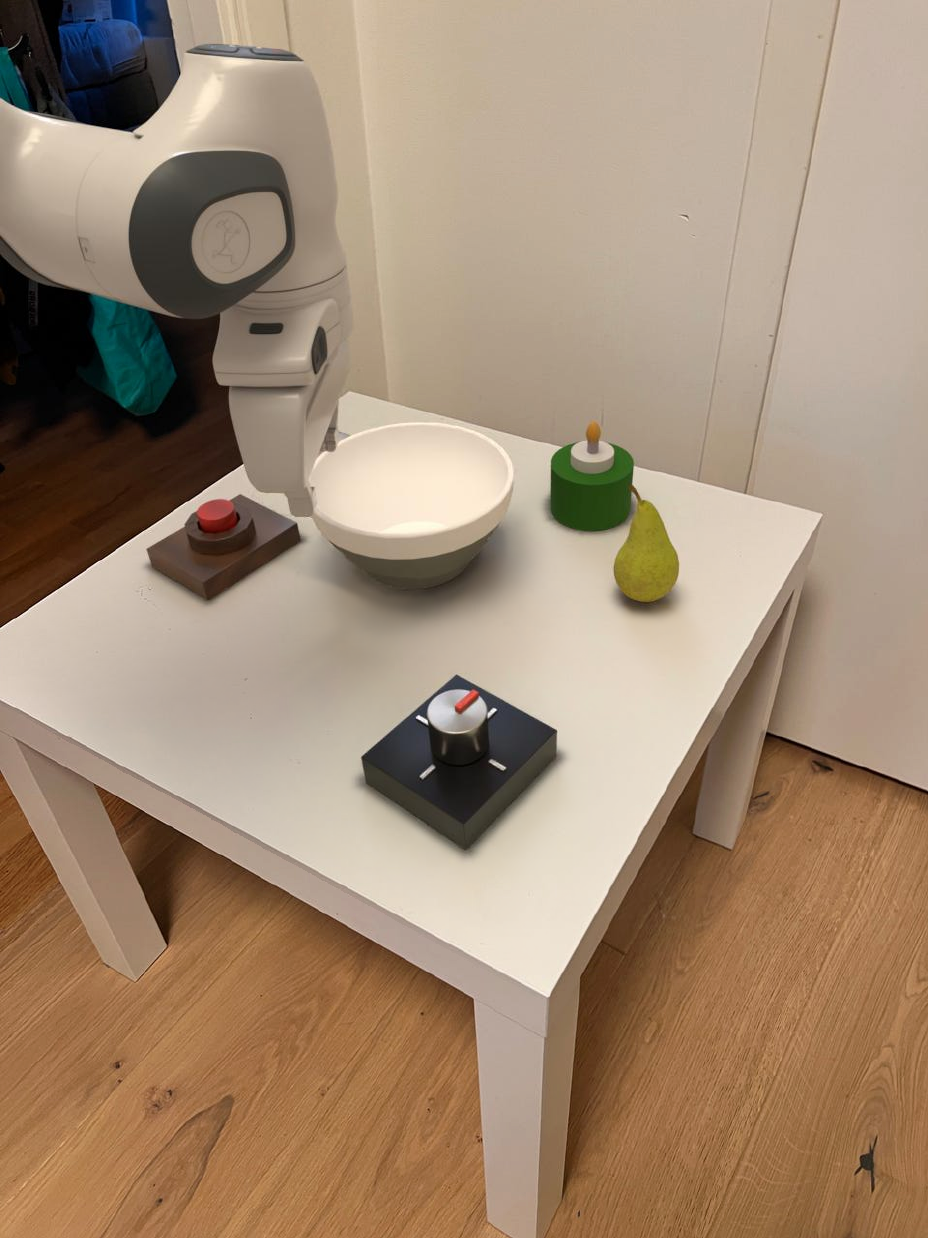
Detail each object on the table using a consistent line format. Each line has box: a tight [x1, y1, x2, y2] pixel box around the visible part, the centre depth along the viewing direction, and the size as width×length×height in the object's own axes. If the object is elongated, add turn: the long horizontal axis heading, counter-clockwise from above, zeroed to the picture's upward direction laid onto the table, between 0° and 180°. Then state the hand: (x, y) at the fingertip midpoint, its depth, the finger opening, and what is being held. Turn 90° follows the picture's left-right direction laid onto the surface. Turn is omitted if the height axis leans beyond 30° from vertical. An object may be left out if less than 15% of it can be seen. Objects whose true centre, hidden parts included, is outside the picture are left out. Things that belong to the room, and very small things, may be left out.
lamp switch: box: [145, 493, 302, 601], centre depth 94 cm, size 12×9×4 cm
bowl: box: [309, 421, 515, 590], centre depth 90 cm, size 20×20×10 cm
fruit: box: [613, 483, 680, 603], centre depth 83 cm, size 6×6×12 cm
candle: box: [549, 421, 635, 532], centre depth 95 cm, size 8×8×10 cm
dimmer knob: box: [427, 689, 489, 765], centre depth 69 cm, size 4×4×4 cm
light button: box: [196, 498, 238, 534], centre depth 92 cm, size 4×4×2 cm
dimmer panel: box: [360, 674, 558, 851], centre depth 71 cm, size 11×10×3 cm
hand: (316, 478), depth 75 cm, fingers open, 8 cm apart
